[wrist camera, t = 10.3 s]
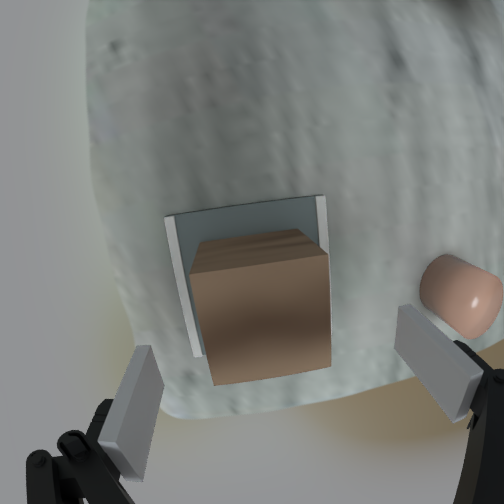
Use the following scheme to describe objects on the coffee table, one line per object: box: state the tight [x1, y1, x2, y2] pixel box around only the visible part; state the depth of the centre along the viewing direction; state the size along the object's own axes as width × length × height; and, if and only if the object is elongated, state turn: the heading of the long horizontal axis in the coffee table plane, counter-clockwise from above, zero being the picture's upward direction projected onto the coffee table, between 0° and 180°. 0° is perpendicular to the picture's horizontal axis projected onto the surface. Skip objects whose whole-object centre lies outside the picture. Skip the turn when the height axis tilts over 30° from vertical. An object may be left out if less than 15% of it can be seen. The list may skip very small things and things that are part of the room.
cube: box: [189, 229, 331, 386], centre depth 22 cm, size 8×8×8 cm
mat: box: [164, 195, 332, 358], centre depth 26 cm, size 13×13×1 cm
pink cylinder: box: [420, 254, 503, 339], centre depth 25 cm, size 6×6×7 cm
